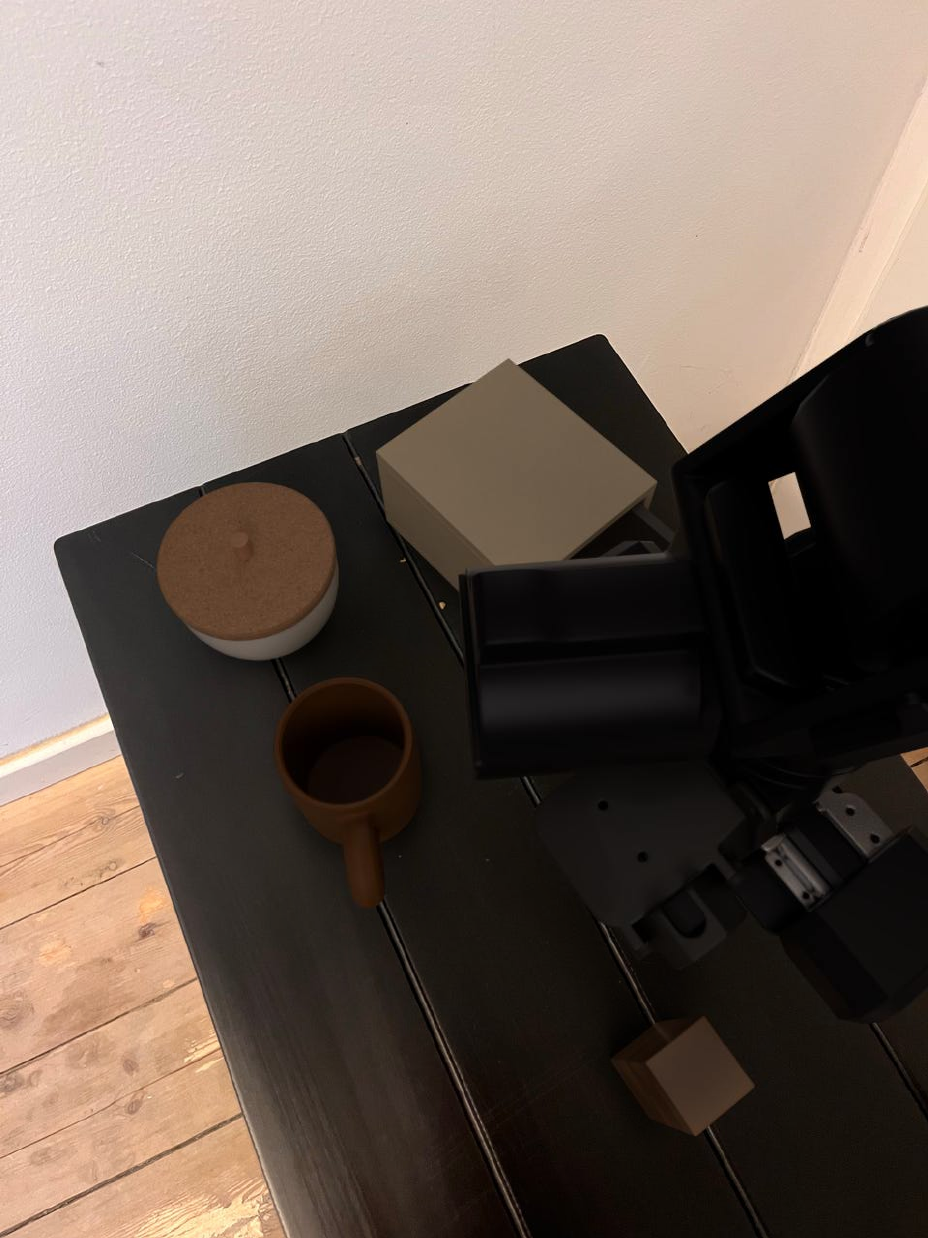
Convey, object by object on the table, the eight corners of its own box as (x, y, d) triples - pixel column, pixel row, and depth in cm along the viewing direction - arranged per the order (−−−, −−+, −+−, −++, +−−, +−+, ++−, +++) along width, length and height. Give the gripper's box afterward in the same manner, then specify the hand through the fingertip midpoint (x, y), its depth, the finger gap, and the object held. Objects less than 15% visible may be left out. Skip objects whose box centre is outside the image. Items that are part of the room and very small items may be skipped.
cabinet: (635, 548, 62) (658, 481, 54) (516, 648, 58) (522, 591, 51) (504, 433, 66) (508, 357, 59) (386, 520, 63) (375, 451, 55)
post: (698, 1079, 47) (756, 1086, 37) (649, 1119, 46) (695, 1137, 37) (658, 1021, 48) (704, 1014, 39) (609, 1059, 47) (644, 1062, 38)
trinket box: (182, 565, 61) (136, 487, 53) (332, 528, 62) (310, 447, 54) (205, 703, 57) (159, 642, 48) (366, 660, 58) (348, 594, 49)
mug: (447, 912, 51) (443, 884, 42) (317, 938, 50) (286, 916, 42) (412, 719, 56) (402, 661, 48) (294, 742, 55) (263, 687, 47)
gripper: (409, 596, 28) (431, 748, 42) (836, 1160, 21) (691, 1115, 35) (676, 434, 31) (612, 627, 45) (1130, 886, 24) (886, 946, 38)
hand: (688, 811), depth 40 cm, fingers closed on block, 4 cm apart
